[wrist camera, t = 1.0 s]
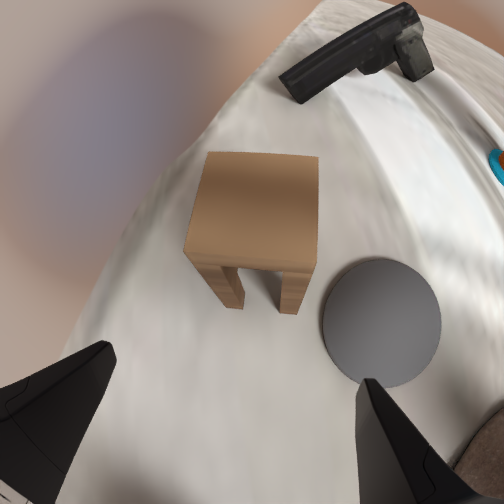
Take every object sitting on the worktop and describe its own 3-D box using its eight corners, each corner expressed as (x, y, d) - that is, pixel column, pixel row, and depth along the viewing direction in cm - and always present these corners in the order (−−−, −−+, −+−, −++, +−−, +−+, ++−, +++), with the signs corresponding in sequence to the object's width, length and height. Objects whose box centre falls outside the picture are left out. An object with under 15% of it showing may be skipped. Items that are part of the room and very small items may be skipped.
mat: (410, 404, 19) (413, 405, 18) (299, 355, 22) (299, 355, 21) (450, 292, 22) (453, 290, 22) (352, 242, 25) (354, 239, 25)
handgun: (318, 132, 42) (275, 74, 30) (424, 61, 34) (413, -6, 21) (326, 142, 42) (285, 83, 29) (434, 69, 33) (426, 0, 20)
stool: (296, 314, 23) (316, 262, 12) (226, 307, 24) (183, 251, 13) (301, 248, 25) (318, 157, 14) (235, 243, 26) (208, 151, 15)
